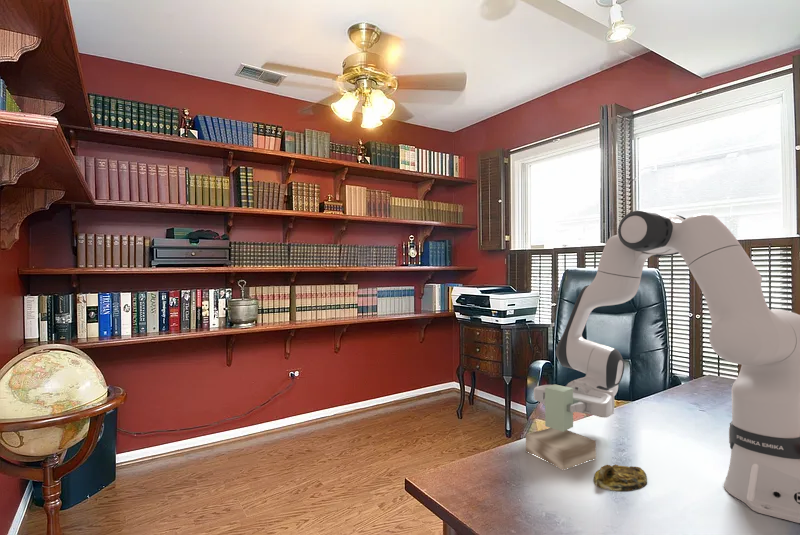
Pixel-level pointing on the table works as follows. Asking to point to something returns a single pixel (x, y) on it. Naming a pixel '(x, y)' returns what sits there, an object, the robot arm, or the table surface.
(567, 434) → the plinth
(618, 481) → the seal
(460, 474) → the table surface
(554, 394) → the green block
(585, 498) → the table surface
